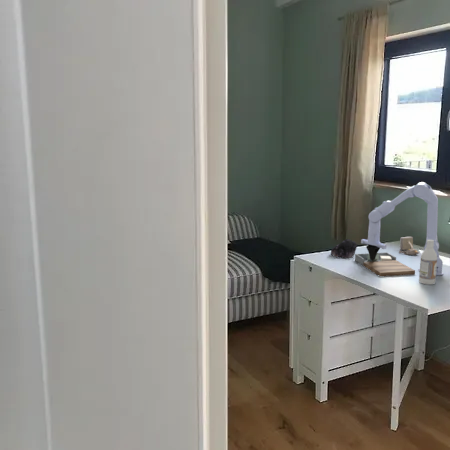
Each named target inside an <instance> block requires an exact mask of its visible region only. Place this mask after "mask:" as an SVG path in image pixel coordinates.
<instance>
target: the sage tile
mask: <svg viewBox="0 0 450 450" xmlns="http://www.w3.org/2000/svg"><path fill="white" fill-rule="evenodd" d="M378 260H379V254H377V255H376V257H375V260H370V256H369V254H368V256H367V261H371V262H374V261H378Z"/></svg>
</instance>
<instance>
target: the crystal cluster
mask: <svg viewBox="0 0 450 450" xmlns="http://www.w3.org/2000/svg"><path fill="white" fill-rule="evenodd" d="M357 248H358V245H357V243H356V241H355V240H352V239H350V238H346V239H344V240H343V241H342V242H340V243H339V244H337V245H336V246H333V248H331V250H330V254H331V255H332V256H333V255H334V256H333V257H335V256H336V257H335V258H340V257H344V258H345V259H346V258H347V259H351V258H354V257H355V254H356V250H357Z"/></svg>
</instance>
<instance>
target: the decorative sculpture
mask: <svg viewBox="0 0 450 450" xmlns="http://www.w3.org/2000/svg"><path fill="white" fill-rule="evenodd" d="M398 252H399V254H403V255H406V256H409V255H410V256H416V255H419V254H420V252H419V251H418V250H417V249H415V248H414V237H413V236H405V237H403V236H402V237H400V241H399V251H398Z"/></svg>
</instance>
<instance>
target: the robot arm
mask: <svg viewBox="0 0 450 450" xmlns="http://www.w3.org/2000/svg"><path fill="white" fill-rule="evenodd" d="M414 197H417V198H419V199H421V200H423V201H424V203H426V204H427V208H426V211H427V213H426V217H427V218H426V238H425V239H426V240H425V244H424V247H423V251H424V250H425V249H426V247H427V240H434V247H433V249H434V250H435V252H436V254H437V268H436V276H443V275H444V273H443V263H444V262H443V260H442V259H441V258H440V253H439V248H440V243H439V241H438V215H439V210H438V209H439V207H438V206H439V199H438V196H437V194H436V193H435V191H434V190H433V188H432V187H431V185H429V184H427V183H426V182H424V181H421V182H420V181H419V182H418V183H417V184H416V185H412V186H411V187H409V188H407V189H406V190H404V191H403V192H401V193H400V194H399V195H398V196H396V197H395V198H393V199H392V200H384V201H382V204H380V205H379V206H378V207H377V206H376V207H374V209H372V211H370V212H369V214H368V220H369V221H368V231H367V232H368V233H367V239H365V238H362V239H360V244H364V245H366V250H367V252H368V253H369V256H370V260H375V257H376V255H377V253H379V250H380V249H381V250H386V249H387V244H386V243H385V244H384V243H382V242H381V241H380V240H381V238H380V237H381V220H382V218H385V217H387V216H388V215H389V214H390V213H392V212H394V211H395V209H396V206H398V205H400V204H401V203H402V202H404V201H406V200H407V199H409V198H414ZM417 270H418V271H419V272H420V268H417Z"/></svg>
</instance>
